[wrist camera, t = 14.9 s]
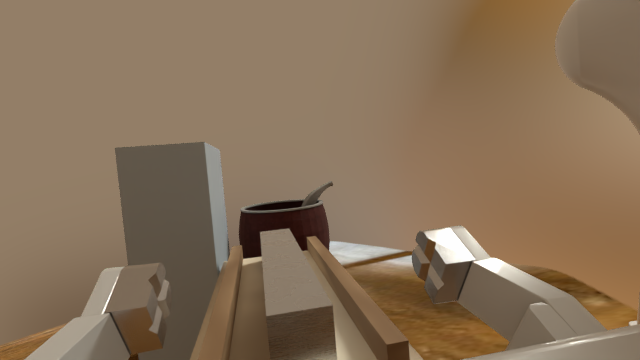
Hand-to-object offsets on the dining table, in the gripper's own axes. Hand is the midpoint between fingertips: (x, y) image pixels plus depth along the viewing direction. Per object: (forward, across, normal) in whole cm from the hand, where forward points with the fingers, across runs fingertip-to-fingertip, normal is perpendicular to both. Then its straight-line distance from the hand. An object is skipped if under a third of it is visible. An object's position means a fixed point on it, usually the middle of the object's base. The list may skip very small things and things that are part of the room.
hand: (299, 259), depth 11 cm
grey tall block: (+17, +10, +32) cm, 38 cm away
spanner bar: (+9, 0, +12) cm, 15 cm away
